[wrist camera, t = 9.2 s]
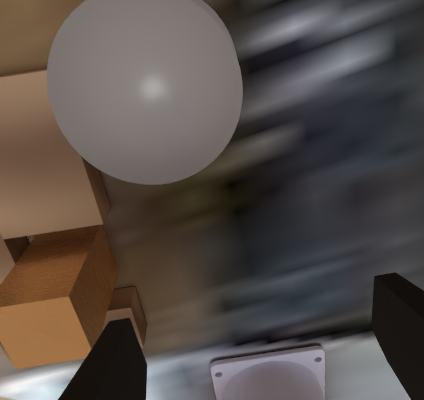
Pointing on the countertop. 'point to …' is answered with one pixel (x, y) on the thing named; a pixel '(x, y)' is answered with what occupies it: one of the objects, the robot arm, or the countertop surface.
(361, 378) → the countertop surface
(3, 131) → the terminal board
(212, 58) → the door knob
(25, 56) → the countertop surface
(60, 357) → the wooden block
